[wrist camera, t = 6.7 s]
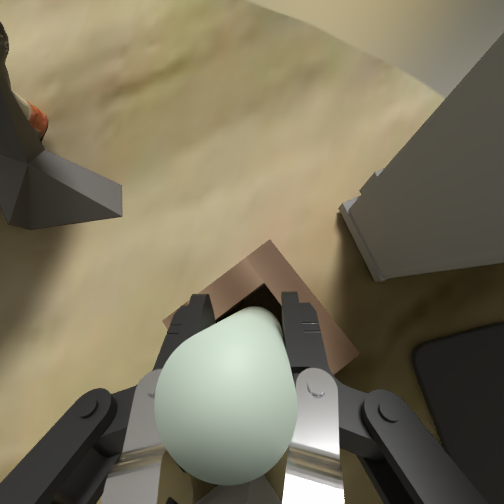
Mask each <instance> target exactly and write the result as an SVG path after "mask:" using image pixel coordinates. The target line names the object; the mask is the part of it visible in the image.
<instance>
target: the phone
mask: <svg viewBox="0 0 504 504" xmlns="http://www.w3.org/2000/svg"><path fill="white" fill-rule="evenodd" d="M412 364H413V367H414V370H415V373H416V376H417V378H418V381H419V384H420V386H421V389H422V392H423V394H424V397H425V400H426V402H427V405H428V408H429V410H430V413H431V416H432V418H433V421H434V424H435V426H436V429H437V432H438V434H439V437H440V440H441V442H442V445H443V448H444V450H445V451H446V453H447V454H448V455H449V456H450V457H451V459H452V460H453V461H454V462H455V464H456V465H457V466H458V467H459V468H460V470H461V471H462V472H463V473H464V475H465V476H466V477H467V478H468V479H469V481H470V482H471V483H472V484H473V486H474V487H475V488H476V489H477V490H478V492H479V493H480V494H481V495H482V497H483V498H484V499H485V500H486V502H487V503H488V504H504V323H496V324H492V325H488V326H484V327H480V328H476V329H473V330H469V331H465V332H461V333H458V334H454V335H450V336H446V337H443V338H439V339H435V340H432V341H428V342H425V343H422V344H420V345H418V346H417V347H416V348H415V349H414V351H413V353H412Z"/></svg>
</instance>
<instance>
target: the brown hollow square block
mask: <svg viewBox="0 0 504 504" xmlns="http://www.w3.org/2000/svg"><path fill="white" fill-rule="evenodd" d="M265 284H266V286H267V287H268V288H269V290H270V291H271V292H272V294H273V295H274V296H275V298H276V299H277V300H278V302H279V303H280V304H281V306H282V300H281V292H284V291H297V292H298V298H299V303H306V302H310V303H311V305H312V306H313V307H314V309H315V310H316V312H317V316H318V321H319V325H320V329H321V334H322V338H323V343H324V347H325V352H326V356H327V361H328V365H329V368H330V370H331V372H332V374H333V375H334V374H335V373H337V372H338V371H339V370H341V369H342V368H343V367H344V366H346V365H347V364H348V363H350V362H351V361H352V360H353V359H355V358H356V357H357V356H358V355H360V352H359V351H358V350H357V349H356V347H355V346H354V345H353V344H352V342H351V341H350V340H349V339H348V337H347V336H346V335H345V333H344V332H343V331H342V330H341V328H340V327H339V326H338V325H337V323H336V322H335V321H334V320H333V318H332V317H331V316H330V315H329V313H328V312H327V311H326V310H325V308H324V307H323V306H322V304H321V303H320V302H319V301H318V299H317V298H316V297H315V296H314V294H313V293H312V292H311V291H310V289H309V288H308V287H307V286H306V284H305V283H304V282H303V280H302V279H301V278H300V277H299V275H298V274H297V273H296V272H295V270H294V269H293V268H292V267H291V265H290V264H289V263H288V262H287V260H286V259H285V258H284V257H283V255H282V254H281V253H280V251H279V250H278V249H277V248H276V246H275V245H274V244H273V243H272V241H271V240H268V241H267V242H266V243H264V244H263V245H262V246H260V247H259V248H258V249H256V250H255V251H254V252H253V253H251V254H250V255H249V256H247V257H246V258H245V259H243V260H242V261H241V262H239V263H238V264H237V265H235V266H234V267H233V268H231V269H230V270H229V271H227V272H226V273H225V274H223V275H222V276H221V277H220V278H218V279H217V280H216V281H214V282H213V283H212V284H210V285H209V286H208V287H206V288H205V289H204V290H202V291H201V292H200V293H198V294H209V295H210V299H211V303H212V307H213V311H214V315H215V322H216V321H218V320H219V319H220V318H222V317H223V316H224V315H226V314H227V313H228V312H230V311H231V310H232V309H234V308H235V307H236V306H237V305H239V304H240V303H241V302H243V301H244V300H245V299H247V298H248V297H249V296H251V295H252V294H253V293H254V292H256V291H257V290H258V289H260V288H261V287H262V286H264V285H265ZM189 301H190V300H189ZM189 301H188V302H187V303H185V304H184V305H183V306H188V304H189ZM177 310H178V309H177ZM177 310H176V311H177ZM176 311H175V312H173V313H172V314H171V315H169V316H168V317H167V318H165V319H164V320H163V323H164V324H165V326H166V327H167V329H169V327H170V323H171V321H172V318H173V315H174V314H175V313H176Z"/></svg>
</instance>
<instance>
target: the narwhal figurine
mask: <svg viewBox="0 0 504 504" xmlns="http://www.w3.org/2000/svg"><path fill="white" fill-rule="evenodd" d="M8 51H9V43H8V36H7V34H6V32H5V30H4V27H3V25H2V23H1V22H0V207H1V209H2V211H3V214H4V216H5V218H6V221H7V223H8V225H12V226H17V227H21V228H25V229H29V230H31V229H38V228H45V227H52V226H59V225H66V224H73V223H79V222H86V221H93V220H100V219H107V218H114V217H121V216H122V185H120V184H118V183H116V182H114V181H111V180H109V179H107V178H105V177H103V176H101V175H98V174H96V173H94V172H92V171H90V170H88V169H86V168H83V167H81V166H79V165H77V164H75V163H73V162H70V161H68V160H66V159H64V158H62V157H60V156H58V155H55V154H53V153H51V152H49V151H47V150H45V149H44V147H43V145H42V144H41V142H40V139H41V137H42V136H43V135H44V132H46V128H47V126H48V120H47V117H46V116H45V115H44V114H43V113H42V112H41V111H40V110H39V109H38V108H36V107H35V106H33V105H32V104H31V103H29V102H28V101H24V100H23V99H22V98H21V97H20V96H18V95H17V94H16V93H15V92H14V91H12V90H11V85H10V79H9V75H8V71H7V68H6V66H5V60H6V58H7V54H8Z"/></svg>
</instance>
